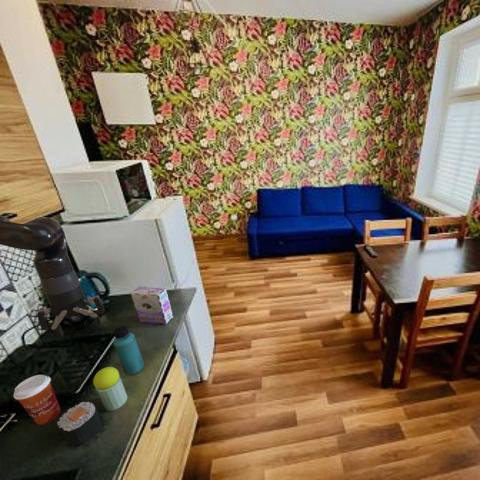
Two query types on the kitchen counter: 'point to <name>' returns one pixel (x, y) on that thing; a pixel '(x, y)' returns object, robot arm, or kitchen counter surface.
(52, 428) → the kitchen counter surface
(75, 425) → the sushi
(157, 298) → the candy box
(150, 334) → the kitchen counter surface
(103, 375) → the ball
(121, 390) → the ceramic cup
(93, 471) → the kitchen counter surface
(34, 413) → the paper cup
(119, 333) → the beverage bottle
